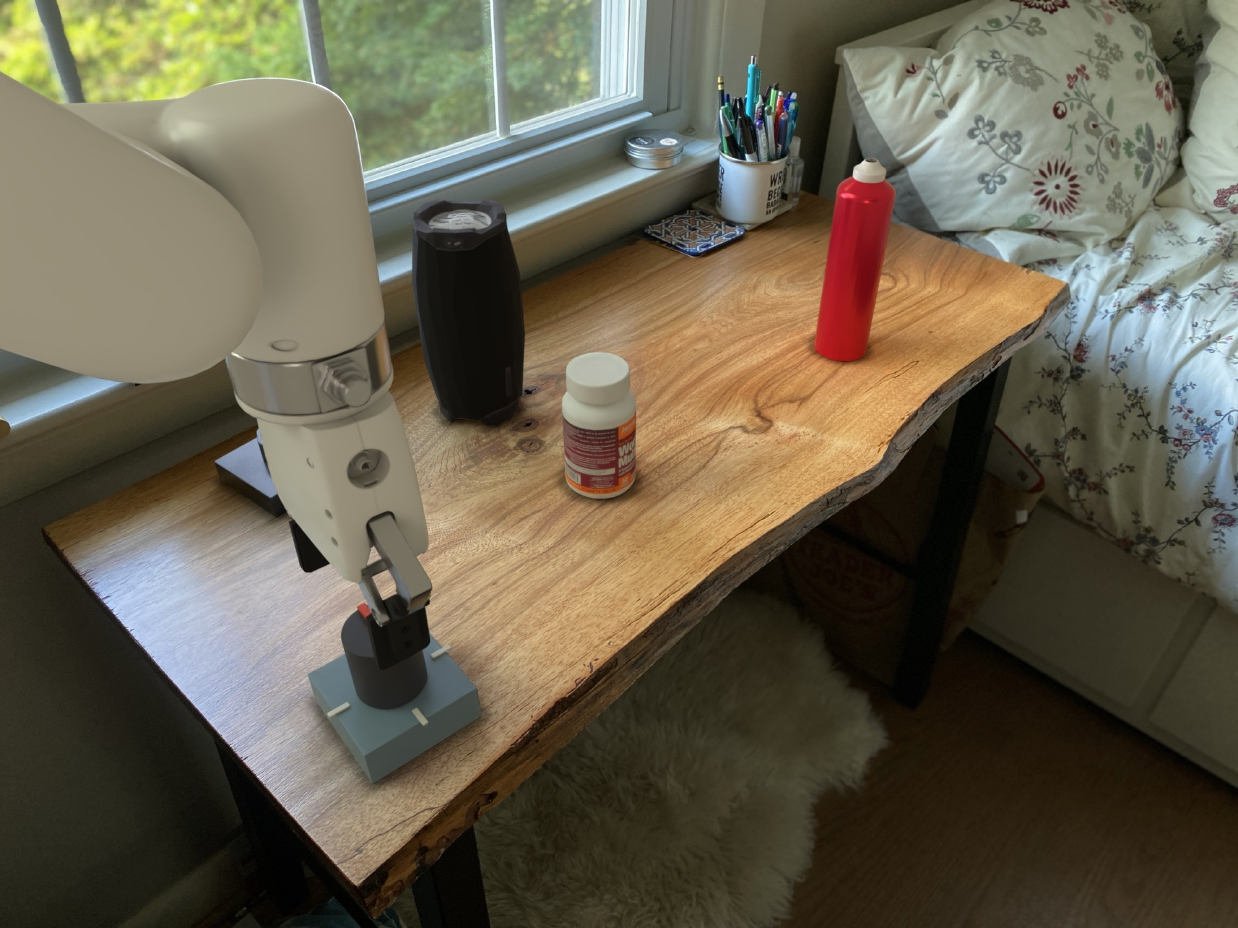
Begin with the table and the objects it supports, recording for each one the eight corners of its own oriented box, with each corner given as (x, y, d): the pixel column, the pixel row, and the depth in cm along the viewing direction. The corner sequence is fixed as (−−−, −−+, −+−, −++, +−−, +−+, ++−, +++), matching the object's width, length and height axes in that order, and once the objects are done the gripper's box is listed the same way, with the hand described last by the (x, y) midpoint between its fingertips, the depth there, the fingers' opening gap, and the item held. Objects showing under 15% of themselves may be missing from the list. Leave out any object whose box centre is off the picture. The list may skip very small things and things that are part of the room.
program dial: (440, 683, 60) (430, 628, 57) (376, 722, 58) (362, 666, 54) (404, 641, 63) (392, 586, 60) (342, 676, 60) (326, 621, 57)
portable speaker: (421, 396, 91) (389, 205, 79) (510, 372, 94) (493, 185, 82) (449, 443, 85) (420, 243, 73) (543, 416, 88) (531, 220, 76)
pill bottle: (633, 503, 79) (635, 391, 72) (561, 500, 79) (555, 388, 72) (637, 458, 83) (638, 349, 76) (568, 455, 84) (564, 347, 77)
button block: (276, 518, 77) (265, 481, 75) (220, 481, 81) (207, 444, 79) (387, 448, 85) (380, 412, 82) (331, 417, 88) (322, 382, 86)
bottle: (803, 341, 99) (829, 156, 87) (844, 330, 101) (876, 146, 89) (834, 366, 95) (866, 175, 83) (877, 353, 97) (914, 165, 85)
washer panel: (369, 792, 57) (360, 762, 55) (308, 701, 63) (298, 671, 61) (490, 716, 62) (485, 686, 60) (423, 638, 67) (417, 607, 65)
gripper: (473, 409, 42) (497, 664, 52) (307, 273, 52) (354, 507, 63) (315, 473, 38) (374, 734, 48) (170, 311, 48) (244, 554, 59)
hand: (363, 605), depth 55 cm, fingers open, 9 cm apart
